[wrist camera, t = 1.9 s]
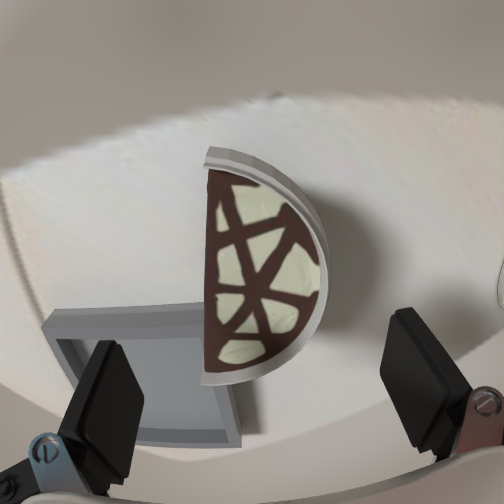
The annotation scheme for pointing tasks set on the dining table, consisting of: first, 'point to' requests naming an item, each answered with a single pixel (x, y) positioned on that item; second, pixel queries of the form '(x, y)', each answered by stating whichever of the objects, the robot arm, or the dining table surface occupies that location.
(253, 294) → the food container
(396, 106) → the dining table surface
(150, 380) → the tray
